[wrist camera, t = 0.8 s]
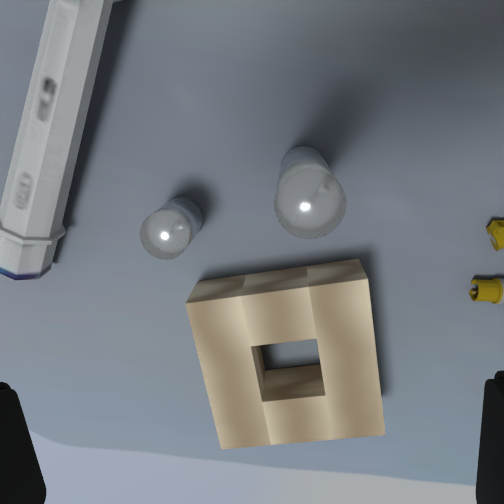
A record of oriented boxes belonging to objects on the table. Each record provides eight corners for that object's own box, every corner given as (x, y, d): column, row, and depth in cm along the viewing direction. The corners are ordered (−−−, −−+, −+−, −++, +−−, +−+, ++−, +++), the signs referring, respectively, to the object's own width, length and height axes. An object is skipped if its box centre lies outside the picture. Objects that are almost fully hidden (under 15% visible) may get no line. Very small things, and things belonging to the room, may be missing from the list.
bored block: (358, 258, 32) (367, 278, 28) (375, 399, 35) (385, 434, 31) (197, 281, 33) (185, 303, 29) (228, 414, 37) (221, 449, 33)
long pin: (322, 142, 29) (341, 163, 18) (327, 186, 30) (349, 233, 19) (277, 150, 30) (269, 175, 18) (284, 193, 31) (280, 243, 19)
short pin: (198, 193, 31) (181, 208, 26) (207, 234, 32) (192, 255, 27) (158, 200, 32) (134, 216, 27) (167, 240, 32) (146, 262, 28)
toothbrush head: (-34, 261, 30) (33, -193, 19) (24, 225, 36) (101, -137, 25) (37, 293, 30) (143, -136, 19) (83, 252, 36) (185, -94, 25)
